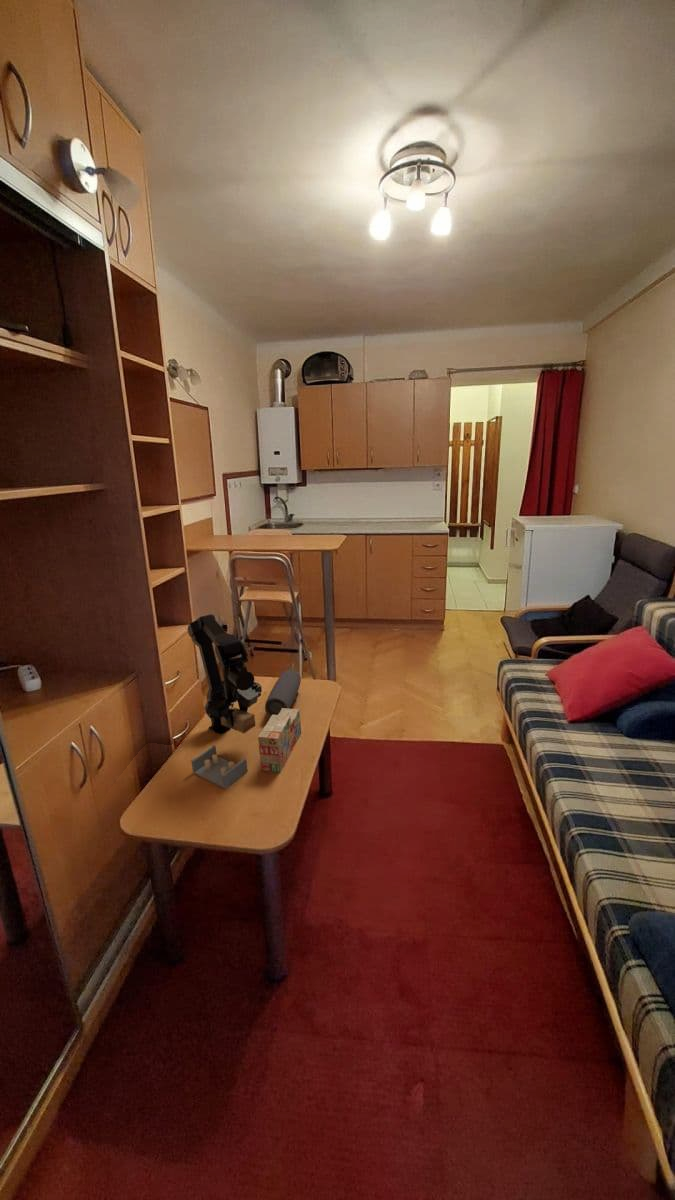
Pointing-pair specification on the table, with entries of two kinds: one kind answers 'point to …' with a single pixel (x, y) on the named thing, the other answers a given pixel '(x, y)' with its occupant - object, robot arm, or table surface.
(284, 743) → the stack of blocks
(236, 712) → the brown rectangular block
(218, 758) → the cradle
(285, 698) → the bluetooth speaker
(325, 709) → the table surface
